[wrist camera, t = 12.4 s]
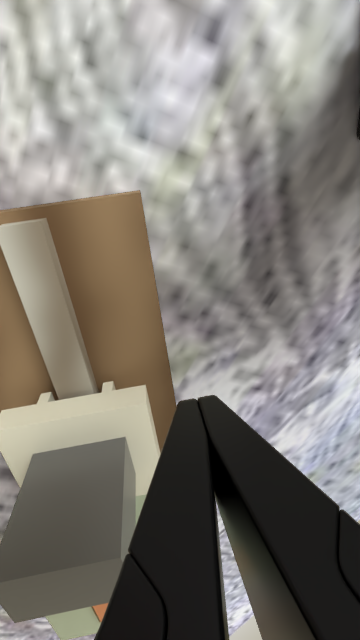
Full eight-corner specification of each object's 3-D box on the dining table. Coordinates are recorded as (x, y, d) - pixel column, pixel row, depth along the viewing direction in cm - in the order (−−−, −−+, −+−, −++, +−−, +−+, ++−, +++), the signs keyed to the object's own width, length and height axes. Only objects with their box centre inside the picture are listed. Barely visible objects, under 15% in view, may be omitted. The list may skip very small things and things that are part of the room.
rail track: (139, 190, 16) (140, 194, 14) (193, 508, 28) (198, 538, 26) (-84, 222, 16) (-121, 232, 13) (66, 534, 27) (60, 567, 25)
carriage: (145, 375, 19) (151, 517, 11) (162, 457, 22) (176, 612, 14) (7, 399, 18) (-83, 564, 11) (45, 479, 21) (-4, 651, 14)
